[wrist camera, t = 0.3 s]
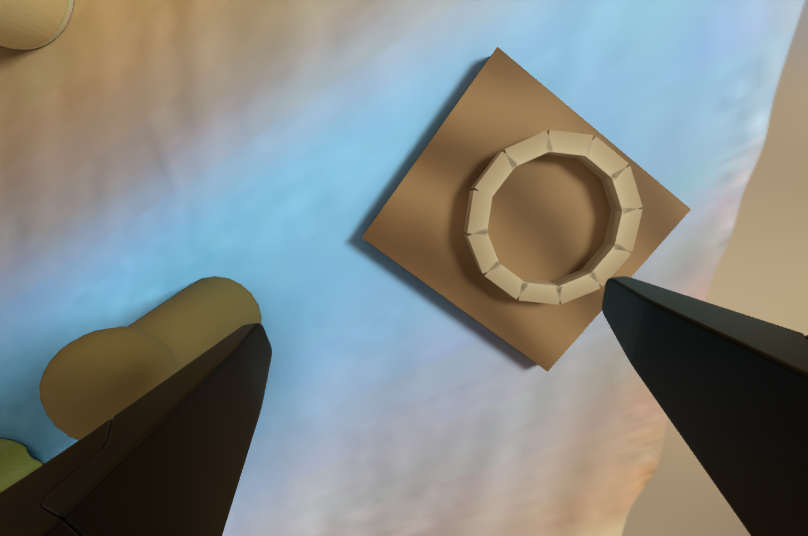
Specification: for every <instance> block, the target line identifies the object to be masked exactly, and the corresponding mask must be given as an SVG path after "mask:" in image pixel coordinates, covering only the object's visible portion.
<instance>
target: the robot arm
mask: <svg viewBox="0 0 808 536" xmlns="http://www.w3.org/2000/svg"><path fill="white" fill-rule="evenodd" d="M602 311H603V314H604V316H605V318H606V319H607V321H608V323H609V325H610V327H611V329H612V330H613V332H614V334H615V336H616V338H617V340H618V341H619V343H620V345H621V347H622V349H623V351H624V352H625V354H626V356H627V358H628V359H629V361H630V363H631V364H632V366H633V367H634V369H635V370H636V372H637V373H638V375H639V376H640V378H641V379H642V380H643V382H644V383H645V385H646V386H647V388H648V389H649V390H650V392H651V393H652V395H653V396H654V398H655V399H656V400H657V402H658V403H659V405H660V406H661V408H662V409H663V410H664V412H665V413H666V415H667V416H668V418H669V419H670V420H671V422H672V423H673V425H674V426H675V427H676V429H677V430H678V432H679V433H680V435H681V436H682V438H683V439H684V440H685V442H686V443H687V445H688V446H689V448H690V449H691V450H692V452H693V453H694V455H695V456H696V458H697V459H698V460H699V462H700V463H701V465H702V466H703V468H704V469H705V471H706V472H707V473H708V475H709V476H710V478H711V479H712V480H713V482H714V483H715V485H716V486H717V488H718V489H719V491H720V492H721V493H722V495H723V496H724V498H725V499H726V501H727V502H728V503H729V505H730V506H731V508H732V509H733V511H734V512H735V513H736V515H737V516H738V518H739V519H740V521H741V522H742V523H743V525H744V526H745V528H746V529H747V531H748V532H749V533H750V535H751V536H808V335H806V336H804V335H803V334H802V333H800V332H796V331H793V330H791V329H787V328H784V327H781V326H778V325H775V324H772V323H769V322H766V321H763V320H760V319H757V318H754V317H750V316H747V315H744V314H741V313H738V312H735V311H732V310H729V309H725V308H723V307H719V306H717V305H713V304H710V303H707V302H704V301H701V300H698V299H695V298H692V297H689V296H686V295H683V294H680V293H677V292H673V291H670V290H667V289H664V288H661V287H658V286H655V285H652V284H649V283H646V282H643V281H640V280H636V279H633V278H630V277H627V276H620V277H612V278H609V279H608V280H607V281H606V284H605V289H604V295H603V300H602ZM271 356H272V348H271V345H270V342H269V340H268V337H267V335H266V332H265V330H264V328H263V326H262V324H260V323H250V324H244V325H242V326H241V327H239V328H238V329H237V330H235V331H234V332H232V333H231V334H230V335H228V336H227V337H225V338H224V339H223V340H221V341H220V342H218V343H217V344H215V345H214V346H213V347H211V348H210V349H208V350H207V351H206V352H204V353H203V354H201V355H200V356H198V357H197V358H196V359H194V360H193V361H191V362H190V363H189V364H187V365H186V366H184V367H183V368H181V369H180V370H179V371H177V372H176V373H174V374H173V375H172V376H170V377H169V378H167V379H166V380H164V381H163V382H162V383H160V384H159V385H157V386H156V387H155V388H153V389H152V390H150V391H149V392H147V393H146V394H145V395H143V396H142V397H140V398H139V399H138V400H136V401H135V402H133V403H132V404H131V405H129V406H128V407H126V408H125V409H123V410H122V411H121V412H119V413H118V414H116V415H115V416H114V417H113V419H109V420H108V421H106V422H105V423H103V424H102V425H101V426H99V427H98V428H96V429H95V430H94V431H92V432H91V433H89V434H88V435H86V436H85V437H83V438H82V439H81V440H79V441H78V442H76V443H75V444H73V445H72V446H70V447H69V448H67V449H66V450H65V451H63V452H62V453H60V454H59V455H57V456H56V457H54V458H52V459H51V460H49V461H48V462H46V463H45V464H43V465H42V466H40V467H39V468H37V469H36V470H34V471H33V472H31V473H30V474H28V475H27V476H25V477H23V478H22V479H20V480H19V481H17V482H16V483H14V484H13V485H11V486H9V487H8V488H6V489H5V490H3V491H2V492H0V536H222V534H223V531H224V527H225V524H226V521H227V518H228V515H229V511H230V508H231V505H232V502H233V498H234V495H235V492H236V489H237V486H238V482H239V479H240V476H241V473H242V469H243V466H244V463H245V460H246V457H247V453H248V450H249V447H250V444H251V440H252V437H253V434H254V431H255V428H256V424H257V421H258V418H259V415H260V411H261V407H262V403H263V398H264V393H265V388H266V383H267V377H268V372H269V367H270V362H271Z"/></svg>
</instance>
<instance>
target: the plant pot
mask: <svg viewBox="0 0 808 536" xmlns="http://www.w3.org/2000/svg"><path fill="white" fill-rule="evenodd" d="M40 466H42V464H41V462H40V461H38V460H35V459H33V458H32V457H31V456H30V455H29V454H28V452H27V448H26V447H25V446H23V445H21V444H20V443H17V442H15V441H11V440H7V439H0V492H2V491H3V490H5V489H6V488H8V487H9V486H11V485H13V484H14V483H16V482H17V481H19V480H20V479H22V478H23V477H25V476H27V475H28V474H30V473H31V472H33V471H34V470H36V469H37V468H39V467H40Z"/></svg>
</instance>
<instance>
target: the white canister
mask: <svg viewBox="0 0 808 536" xmlns="http://www.w3.org/2000/svg"><path fill="white" fill-rule="evenodd" d="M73 4H74V0H0V46H2V47H6V48H11V49H20V50H28V49H36V48H39V47H42V46H45V45H47V44H49V43H50V42H52V41H53V40H54V39H56V38H57V37H58V36H59V35H60V34H61V32H62V31H63V30H64V28H65V27H66V25H67V23H68V22H69V19H70V16H71V13H72V10H73Z"/></svg>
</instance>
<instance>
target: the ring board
mask: <svg viewBox="0 0 808 536" xmlns="http://www.w3.org/2000/svg"><path fill="white" fill-rule="evenodd" d="M690 210H691V209H690V208H689V207H687V206H686V205H685V204H684V203H683V202H681V201H680V200H679V199H678V198H677V197H675V196H674V195H673V194H672V193H671V192H669V191H668V190H667V189H666V188H665V187H664V186H662V185H661V184H660V183H659V182H658V181H656V180H655V179H654V178H653V177H652V176H650V175H649V174H648V173H647V172H646V171H645V170H643V169H642V168H641V167H640V166H639V165H637V164H636V163H635V162H634V161H633V160H631V159H630V158H629V157H628V156H627V155H625V154H624V153H623V152H622V151H621V150H620V149H618V148H617V147H616V146H615V145H614V144H612V143H611V142H610V141H609V140H608V139H606V138H605V137H604V136H603V135H602V134H600V133H599V132H598V131H597V130H596V129H595V128H593V127H592V126H591V125H590V124H589V123H587V122H586V121H585V120H584V119H583V118H581V117H580V116H579V115H578V114H577V113H576V112H574V111H573V110H572V109H571V108H570V107H568V106H567V105H566V104H565V103H564V102H562V101H561V100H560V99H559V98H558V97H556V96H555V95H554V94H553V93H552V92H551V91H549V90H548V89H547V88H546V87H545V86H543V85H542V84H541V83H540V82H539V81H537V80H536V79H535V78H534V77H533V76H532V75H530V74H529V73H528V72H527V71H526V70H524V69H523V68H522V67H521V66H520V65H518V64H517V63H516V62H515V61H514V60H512V59H511V58H510V57H509V56H508V55H507V54H505V53H504V52H503V51H502V50H501V49H499V48H498V47H497V48H496V50H495V51H494V52H493V54H492V55H491V57H490V58H489V59H488V61H487V62H486V64H485V65H484V66H483V68H482V69H481V71H480V72H479V73H478V75H477V76H476V78H475V79H474V80H473V82H472V83H471V85H470V86H469V87H468V89H467V90H466V92H465V93H464V94H463V96H462V97H461V99H460V100H459V102H458V103H457V104H456V106H455V107H454V109H453V110H452V111H451V113H450V114H449V116H448V117H447V118H446V120H445V121H444V123H443V124H442V125H441V127H440V128H439V130H438V131H437V132H436V134H435V135H434V137H433V138H432V139H431V141H430V142H429V144H428V145H427V146H426V148H425V149H424V151H423V152H422V153H421V155H420V156H419V158H418V159H417V160H416V162H415V163H414V165H413V166H412V168H411V169H410V170H409V172H408V173H407V175H406V176H405V177H404V179H403V180H402V182H401V183H400V184H399V186H398V187H397V189H396V190H395V191H394V193H393V194H392V196H391V197H390V198H389V200H388V201H387V203H386V204H385V205H384V207H383V208H382V210H381V211H380V212H379V214H378V215H377V217H376V218H375V219H374V221H373V222H372V224H371V225H370V226H369V228H368V229H367V231H366V232H365V234H364V235H363V236H362V238H363V239H364V240H366V241H367V242H369V243H370V244H371V245H373V246H374V247H375V248H377V249H378V250H380V251H381V252H382V253H384V254H385V255H387V256H388V257H389V258H391V259H392V260H393V261H395V262H396V263H398V264H399V265H400V266H402V267H403V268H405V269H406V270H407V271H409V272H410V273H412V274H413V275H414V276H416V277H417V278H418V279H420V280H421V281H423V282H424V283H425V284H427V285H428V286H430V287H431V288H432V289H434V290H435V291H437V292H438V293H439V294H441V295H442V296H443V297H445V298H446V299H448V300H449V301H450V302H452V303H453V304H455V305H456V306H457V307H459V308H460V309H461V310H463V311H464V312H466V313H467V314H468V315H470V316H471V317H473V318H474V319H475V320H477V321H478V322H480V323H481V324H482V325H484V326H485V327H486V328H488V329H489V330H491V331H492V332H493V333H495V334H496V335H498V336H499V337H500V338H502V339H503V340H505V341H506V342H507V343H509V344H510V345H511V346H513V347H514V348H516V349H517V350H518V351H520V352H521V353H523V354H524V355H525V356H527V357H528V358H529V359H531V360H532V361H534V362H535V363H536V364H538V365H539V366H541V367H542V368H543V369H545V370H546V371H549V369H550V368H551V367H552V366H553V365H554V364H555V363H556V361H557V360H558V359H559V358H560V357H561V356H562V355H563V354H564V352H565V351H566V350H567V349H568V348H569V347H570V346H571V344H572V343H573V342H574V341H575V340H576V339H577V338H578V337H579V335H580V334H581V333H582V332H583V331H584V330H585V329H586V327H587V326H588V325H589V324H590V323H591V322H592V321H593V320H594V318H595V317H596V316H597V315H598V314H599V313H600V312H601V311H602V300H603V295H604V289H605V284H606V281H607V280H608V279H609V278H612V277H620V276H627V277H630V278H631V277H632V275H633V274H634V273H635V272H636V271H637V270H638V269H639V267H640V266H641V265H642V264H643V263H644V262H645V261H646V260H647V258H648V257H649V256H650V255H651V254H652V253H653V252H654V251H655V249H656V248H657V247H658V246H659V245H660V244H661V243H662V241H663V240H664V239H665V238H666V237H667V236H668V235H669V234H670V232H671V231H672V230H673V229H674V228H675V227H676V226H677V224H678V223H679V222H680V221H681V220H682V219H683V218H684V217H685V215H686V214H687V213H688V212H689V211H690Z"/></svg>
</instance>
